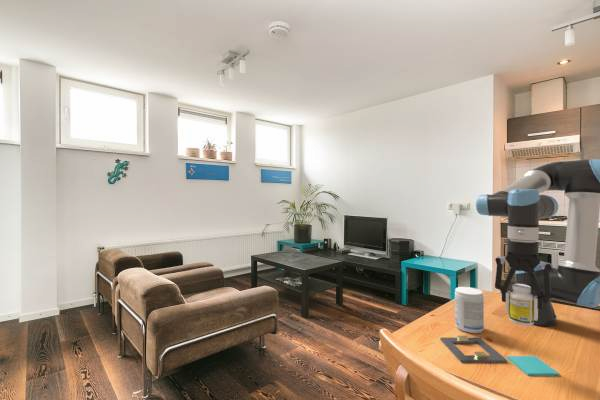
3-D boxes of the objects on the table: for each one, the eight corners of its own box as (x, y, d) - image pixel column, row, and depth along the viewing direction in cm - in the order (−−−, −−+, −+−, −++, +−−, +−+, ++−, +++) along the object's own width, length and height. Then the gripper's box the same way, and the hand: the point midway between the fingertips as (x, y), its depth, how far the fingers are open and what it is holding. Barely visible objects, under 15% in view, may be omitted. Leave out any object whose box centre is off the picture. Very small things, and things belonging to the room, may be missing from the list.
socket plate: (480, 339, 106) (480, 334, 106) (507, 362, 92) (507, 356, 92) (440, 339, 106) (440, 334, 106) (461, 362, 92) (461, 356, 92)
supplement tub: (488, 330, 114) (488, 291, 113) (475, 336, 108) (476, 296, 108) (462, 320, 122) (463, 284, 121) (449, 326, 116) (449, 289, 116)
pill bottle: (520, 316, 95) (521, 282, 95) (539, 325, 89) (540, 288, 88) (503, 318, 94) (504, 283, 93) (521, 327, 88) (522, 289, 87)
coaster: (535, 357, 94) (535, 356, 94) (559, 375, 85) (559, 373, 85) (506, 357, 95) (506, 356, 95) (527, 375, 86) (527, 373, 86)
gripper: (483, 238, 94) (482, 311, 95) (564, 245, 81) (563, 329, 82) (488, 235, 100) (487, 304, 100) (565, 242, 87) (563, 320, 88)
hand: (521, 315), depth 91 cm, fingers closed on pill bottle, 6 cm apart
